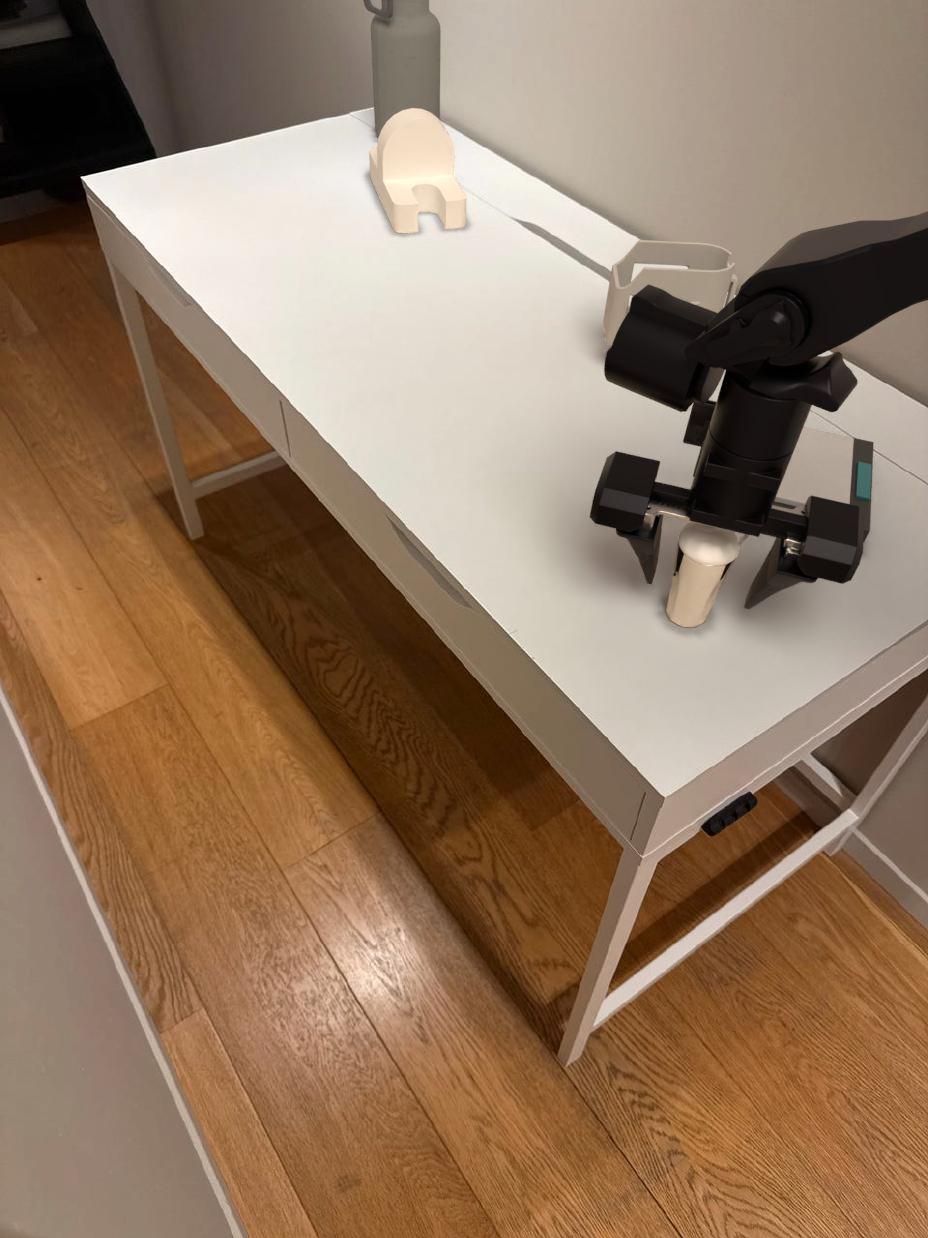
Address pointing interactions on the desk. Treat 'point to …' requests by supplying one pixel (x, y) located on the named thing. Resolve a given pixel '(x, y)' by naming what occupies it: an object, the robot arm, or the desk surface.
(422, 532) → the desk surface
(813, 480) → the scale
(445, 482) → the desk surface
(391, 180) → the white slotted holder
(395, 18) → the water bottle
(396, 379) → the desk surface
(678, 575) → the milkshake
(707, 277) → the cable organizer
